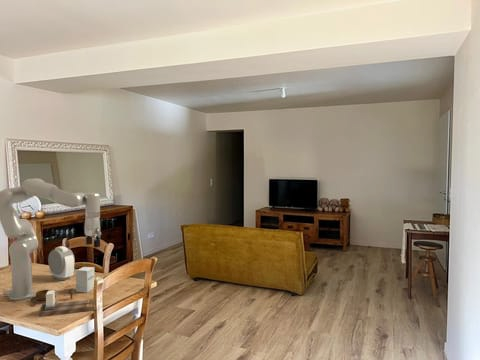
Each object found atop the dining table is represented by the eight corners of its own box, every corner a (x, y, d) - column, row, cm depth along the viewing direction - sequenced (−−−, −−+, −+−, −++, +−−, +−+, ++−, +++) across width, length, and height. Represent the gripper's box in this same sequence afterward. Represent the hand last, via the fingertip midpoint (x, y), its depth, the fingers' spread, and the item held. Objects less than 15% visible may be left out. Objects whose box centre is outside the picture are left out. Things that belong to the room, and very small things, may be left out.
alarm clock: (76, 278, 222) (75, 247, 221) (63, 282, 215) (63, 250, 214) (59, 274, 231) (59, 244, 231) (47, 277, 224) (46, 246, 223)
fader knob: (44, 310, 168) (44, 295, 168) (47, 304, 175) (47, 290, 174) (53, 308, 169) (53, 294, 169) (56, 303, 176) (56, 289, 176)
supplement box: (87, 292, 197) (86, 270, 197) (75, 291, 199) (75, 270, 198) (95, 288, 205) (94, 267, 204) (84, 287, 206) (83, 266, 206)
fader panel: (39, 316, 166) (39, 309, 166) (44, 308, 176) (43, 301, 175) (97, 309, 174) (97, 302, 174) (99, 302, 184) (99, 295, 183)
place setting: (50, 293, 198) (50, 283, 198) (76, 298, 190) (76, 288, 190) (20, 304, 182) (20, 293, 182) (47, 311, 174) (47, 299, 174)
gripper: (79, 214, 197) (79, 244, 197) (93, 217, 185) (93, 249, 186) (92, 213, 202) (92, 242, 203) (106, 216, 191) (106, 247, 191)
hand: (93, 245), depth 194 cm, fingers open, 9 cm apart
